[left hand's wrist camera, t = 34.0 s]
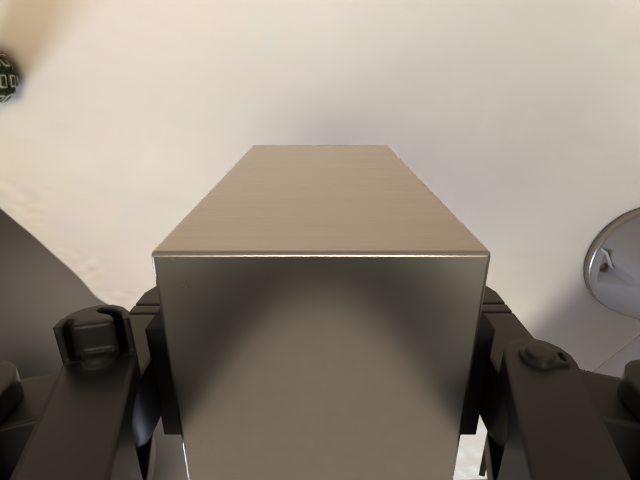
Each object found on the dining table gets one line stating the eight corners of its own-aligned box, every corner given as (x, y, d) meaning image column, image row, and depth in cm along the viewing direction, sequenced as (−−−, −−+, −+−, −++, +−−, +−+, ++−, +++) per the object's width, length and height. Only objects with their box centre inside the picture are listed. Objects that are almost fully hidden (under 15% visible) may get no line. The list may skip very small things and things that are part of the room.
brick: (253, 145, 16) (149, 252, 6) (387, 145, 16) (493, 252, 6) (261, 292, 19) (196, 535, 9) (378, 292, 19) (445, 535, 9)
